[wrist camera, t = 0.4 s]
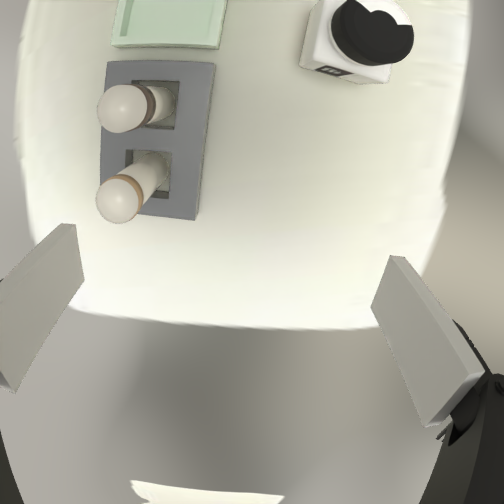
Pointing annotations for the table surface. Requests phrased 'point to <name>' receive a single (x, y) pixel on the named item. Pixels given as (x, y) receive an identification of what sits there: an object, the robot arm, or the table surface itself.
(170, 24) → the parts tray
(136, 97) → the fuse
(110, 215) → the cylinder
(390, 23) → the container
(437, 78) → the table surface
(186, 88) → the fuse block
